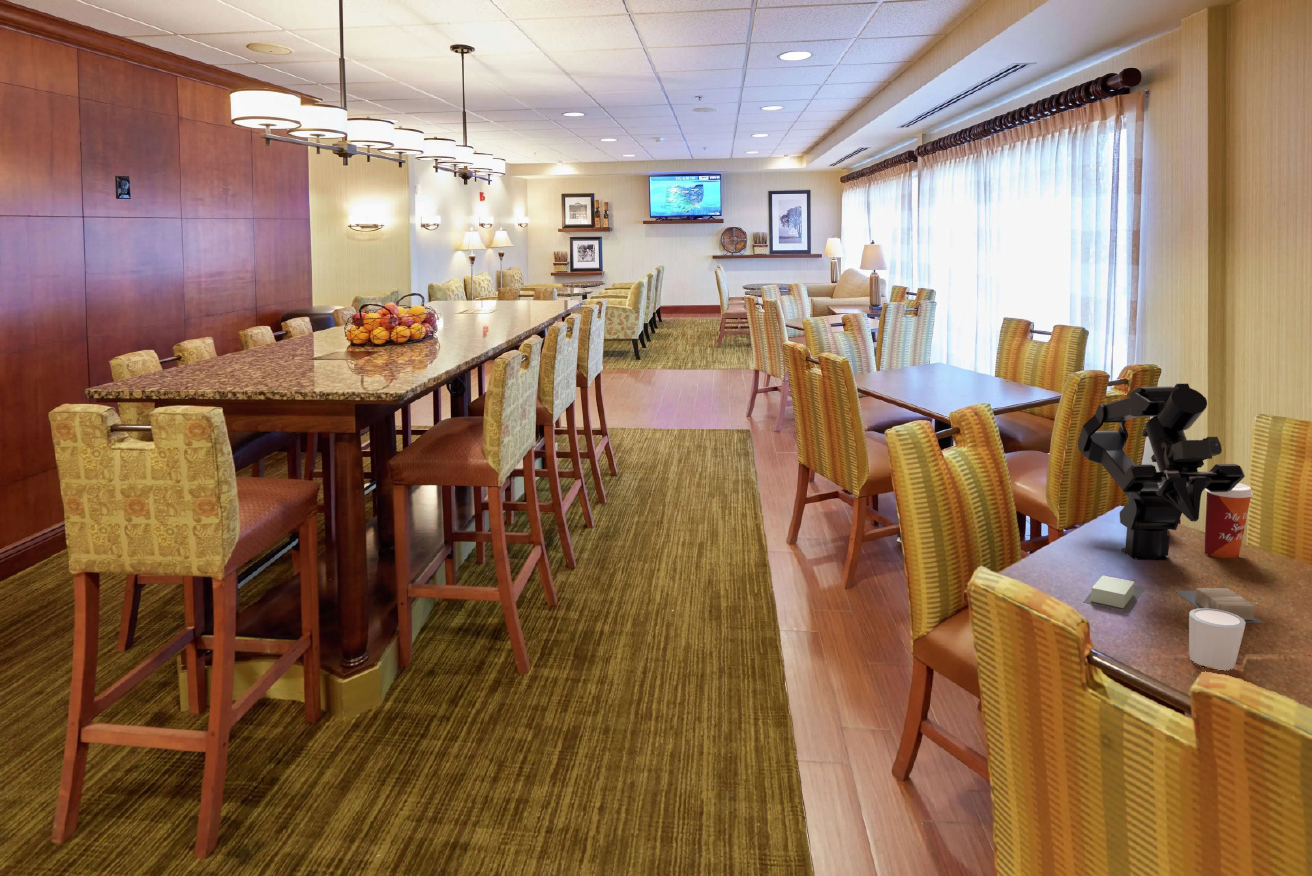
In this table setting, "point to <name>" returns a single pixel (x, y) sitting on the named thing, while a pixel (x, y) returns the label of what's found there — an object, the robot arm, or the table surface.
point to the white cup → (1215, 637)
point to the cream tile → (1225, 601)
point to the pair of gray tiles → (1138, 591)
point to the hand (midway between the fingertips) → (1195, 520)
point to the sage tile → (1112, 591)
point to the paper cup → (1226, 521)
